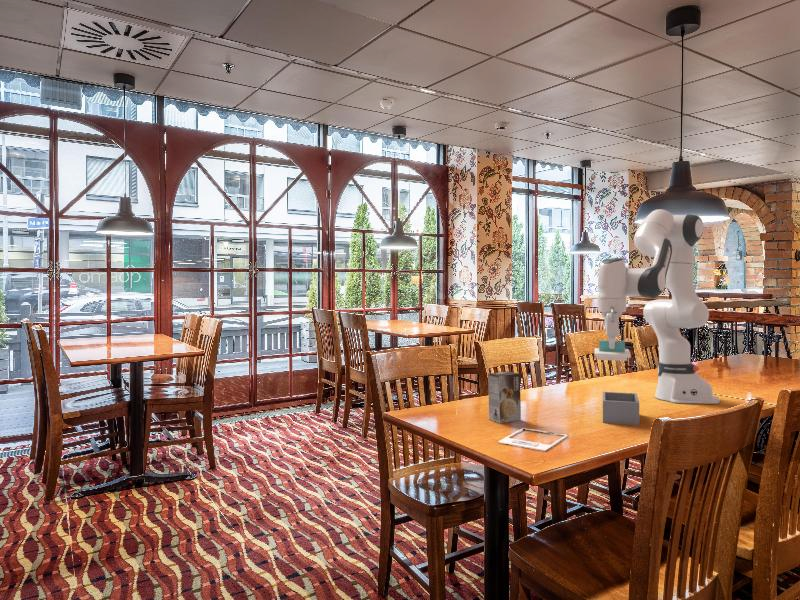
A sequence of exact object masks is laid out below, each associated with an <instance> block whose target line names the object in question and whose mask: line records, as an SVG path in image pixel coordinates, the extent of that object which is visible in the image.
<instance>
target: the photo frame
mask: <svg viewBox="0 0 800 600" xmlns="http://www.w3.org/2000/svg"><path fill="white" fill-rule="evenodd" d="M523 429H525V430H523ZM529 430H530V432H535V431H537V433H542V432H543V433H542V434H548V433H550V435H554V434H557V435H556V436H560V435H563V436H561V437H560V438H558V439H557V440H555V442H552V443H551V444H546V443H540V442H533V441H528V440H523V439H516V438H513V437H514V436H513V435H515V434H517V433H518V434H520V433H521V432H524V431H529ZM518 434H517V435H518ZM511 436H513V437H511ZM515 436H516V435H515ZM510 437H511V438H510ZM568 437H569V435H568V434H562V433H557V432H551V431H545V430H538V429H531V428H525V427H523V428H521V429H519V430H517V431H514V432H513V433H511V434H509V435H508V436H505V437H504V438H502V439H500V440H498V441H497V443H498V442H499V443H504V444H509V445H514V446H520V447H524V448H523V449H525V448H530V449H529V450H531V449H536V450H542V451H546V450H548V449H549V448H551V447H552V448H553V447H555V446H556V445H558V444H560V443H561V442H562V441H564V440H565V439H567V438H568ZM563 439H564V440H563ZM560 441H561V442H560ZM557 443H558V444H557ZM509 445H508V446H509ZM554 445H555V446H554ZM514 446H513V447H514ZM520 447H519V448H520ZM552 448H551V449H552ZM536 450H535V451H536ZM549 450H550V449H549ZM549 450H548V451H549ZM542 451H541V452H542ZM546 452H547V451H546Z"/></svg>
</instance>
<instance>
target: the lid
mask: <svg viewBox="0 0 800 600" xmlns="http://www.w3.org/2000/svg"><path fill="white" fill-rule="evenodd" d="M598 342H599V343H598V347H594V349H593V350H594V355H593V356H594V357H597V360H598V361H618V362H620V361H622V362H623V361H624V362H627V360H628V358H629V359H630V358H632V355H631V351H630V349H629V348H626V341H625V340H615V348H614V349H610V348H609V339H608V340H606V339H603V340H602V339H599V340H598Z"/></svg>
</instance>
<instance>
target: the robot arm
mask: <svg viewBox="0 0 800 600" xmlns="http://www.w3.org/2000/svg"><path fill="white" fill-rule="evenodd" d="M703 233H704V223H703V220H702V218H701V217H700V216H699V215H695V214H690V213H689V214H672V213H671V212H670V211H668V210H666V209H663V208H661V209H654V210H652V211H651V212H650V213H649V214H648V215H647V216H646V217H645V218H644V219H643V220H642V222H641V223H640V224H639V226H638V228H637V230H636V231H635V234H634V237H633V244H634V246H635V248H636V249H637V251H638V252H639V253H641V254H642V255H643V256H646V257H651V258H653V260H652V261H653V262H652V264H651V266H647V267H639V268H636V267H635V268H629V267H628V266H626V262H625V259H624V258H621V257H614V258H613V257H612V258H606V259H603V260H602V261H601V262H600V263H599V268H598V273H597V275H598V277H597V278H598V280H597V286H598V291H599V292H598V294H597V312H599V313H601V317H602V318H603V320H604V327H605V333H606V337H608V340H609V348H610V349H614V348H615V341H616V338H618V337H619V336H620V335H619V333H620V330H619V329H620V328H619V326H620V325H619V323H620V321H619V320H620V319H619V318H622V317H623V313H626V312H627V297H630V298H631V297H634V298H636V297H639V298H640V297H641V298H650V299H654V300H649V301H647V302H646V303H645V305H644V307H643V312H642V313H643V318H644V320H645V321H646V322H647V323H648V325H650V326H651V328H652V329H653V331H654V333H655V335H656V338H657V343H658V362H657V376H658V379H657V386H656V390H655V393H654V397H655V398H656V399H659V400H662V401H665V402H666V401H667V402H671V403H674V404H675V403H676V404H708V405H709V404H710V405H711V404H714V405H717V404H720V402H721V400H720V398H719V397H718V396H717V395H714V392H713V388H712V385H711V384H710V382H708V381H707V380H706V379H704V378H703V377H702V376H701V375H699V374H698V373H697V372H698V371H699V370H700V368H699V366H698V365H695V364H694V363H691V343H690V341H689V340H688V339H686V338H685V337H683V335H682V334H681V332H680V329H695V328H701V327H704V326H705V325H706V324H707V322H708V321H709V317H710V312H709V309H708V306H707V305H706V304H705V303H704V302H703V301H702V300H701V299H700V297H699V296H698V294H697V292H696V289H695V286H694V285H695V284H694V270H695V269H694V267H695V249H694V248H695V247H694V246H695V245H696V243H697V242H699V240H700V239H702V236H703ZM665 289H668V291H669V293H670V294H671V298H670V299H669V298H659V299H656V298H657V297H659V296H660V295H661V294H662V293H663V292H664V291H665Z"/></svg>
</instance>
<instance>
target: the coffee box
mask: <svg viewBox="0 0 800 600" xmlns="http://www.w3.org/2000/svg"><path fill="white" fill-rule="evenodd" d="M487 377H488V378H487V381H488V383H487V384H488V385H487V386H488V387H487V388H488V420H489V419H490V420H489V421H492V420H493V421H492V422H495V421H496V422H495V423H497V422H498V423H497V424H504V422H505V423H511V422H515V421H521V419H522V415H521V414H522V410H521V407H522V406H521V401H522V400H521V373H519V372H514V371H501V372H492V373H491V372H490V373H488V374H487Z"/></svg>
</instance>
